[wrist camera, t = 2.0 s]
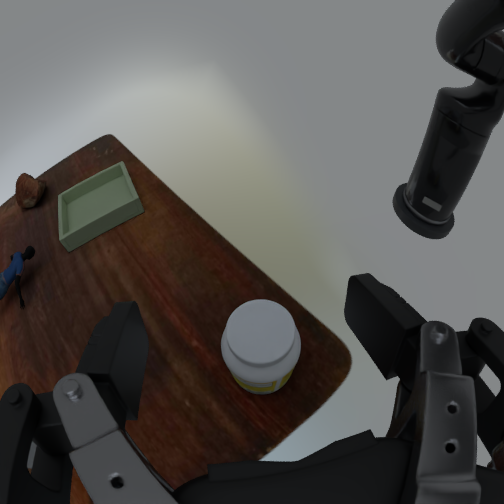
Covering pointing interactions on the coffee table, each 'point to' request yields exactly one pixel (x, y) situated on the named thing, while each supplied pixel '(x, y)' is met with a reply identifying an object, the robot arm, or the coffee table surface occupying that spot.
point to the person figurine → (15, 272)
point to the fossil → (29, 190)
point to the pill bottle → (261, 346)
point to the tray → (96, 206)
